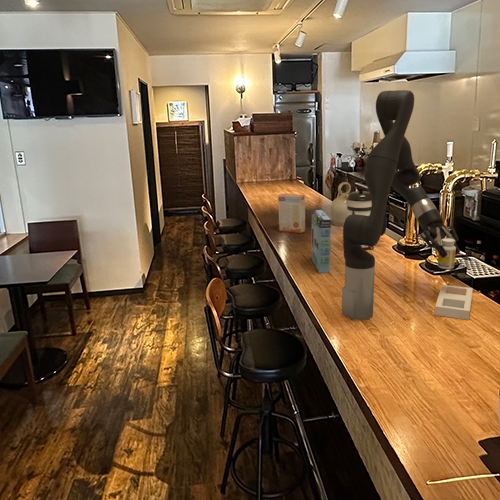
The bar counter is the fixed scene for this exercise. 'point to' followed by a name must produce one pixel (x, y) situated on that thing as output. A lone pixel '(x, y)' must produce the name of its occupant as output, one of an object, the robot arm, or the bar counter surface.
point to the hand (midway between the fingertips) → (451, 254)
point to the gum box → (321, 241)
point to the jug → (340, 206)
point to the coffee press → (362, 207)
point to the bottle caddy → (454, 302)
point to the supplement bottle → (450, 258)
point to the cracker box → (291, 213)
